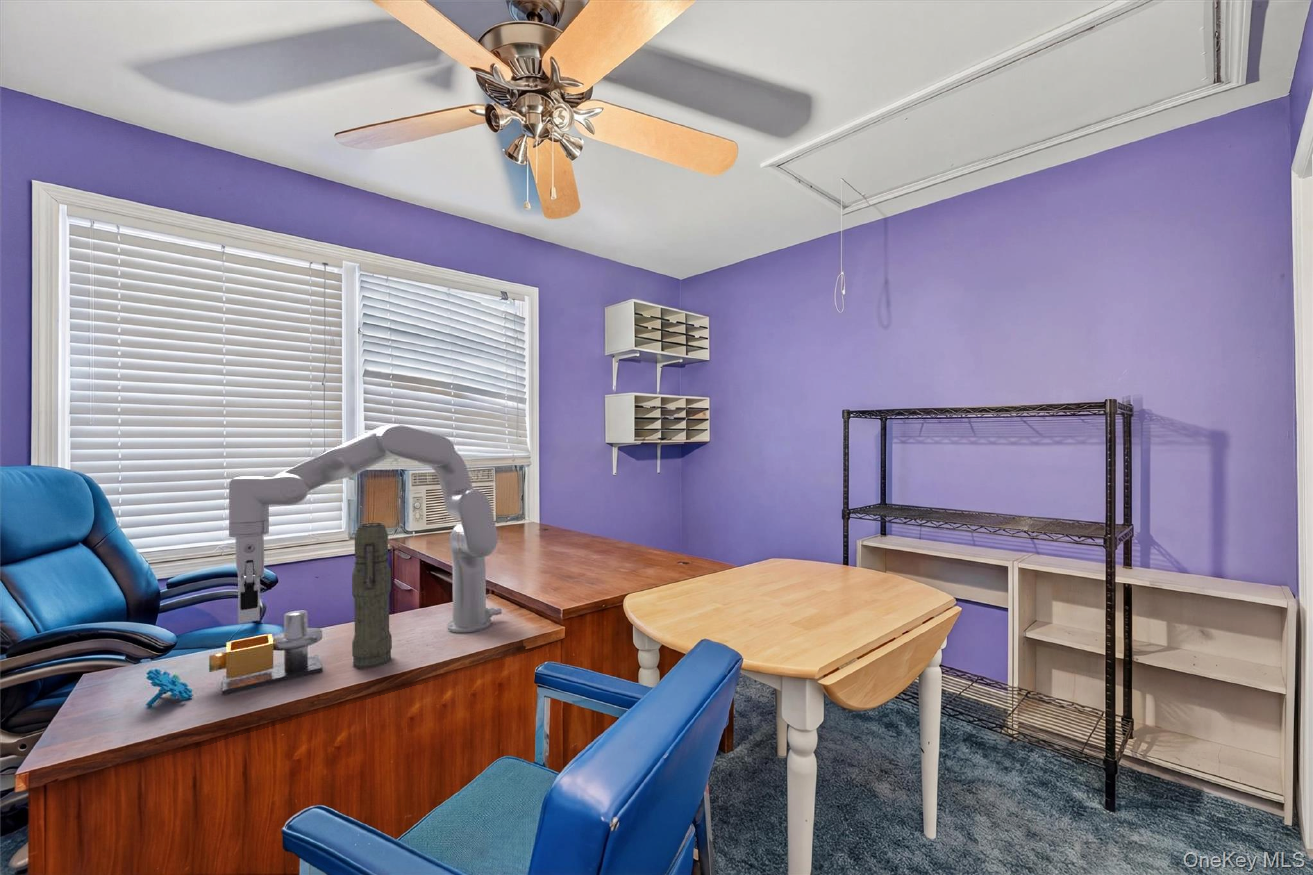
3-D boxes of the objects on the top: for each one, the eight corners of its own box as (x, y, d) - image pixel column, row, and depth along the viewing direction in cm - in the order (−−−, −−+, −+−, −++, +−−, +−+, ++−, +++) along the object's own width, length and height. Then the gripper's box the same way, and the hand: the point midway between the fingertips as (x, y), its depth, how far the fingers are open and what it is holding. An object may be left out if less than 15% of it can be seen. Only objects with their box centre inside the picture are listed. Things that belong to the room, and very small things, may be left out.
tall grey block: (259, 615, 127) (259, 574, 128) (259, 619, 124) (259, 577, 124) (238, 619, 125) (238, 576, 125) (238, 623, 122) (238, 580, 122)
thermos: (390, 649, 142) (389, 520, 143) (393, 665, 132) (392, 525, 133) (352, 657, 138) (351, 522, 139) (352, 673, 128) (351, 528, 128)
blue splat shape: (189, 699, 113) (145, 672, 110) (162, 725, 110) (117, 698, 107) (201, 686, 122) (162, 661, 119) (177, 710, 119) (136, 685, 117)
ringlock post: (319, 657, 138) (319, 603, 138) (325, 671, 129) (324, 614, 129) (210, 681, 124) (210, 622, 125) (208, 699, 116) (208, 635, 116)
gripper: (270, 531, 121) (270, 611, 121) (267, 523, 134) (267, 595, 134) (228, 534, 116) (228, 618, 116) (229, 526, 129) (229, 601, 129)
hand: (249, 605), depth 125 cm, fingers closed on tall grey block, 3 cm apart
